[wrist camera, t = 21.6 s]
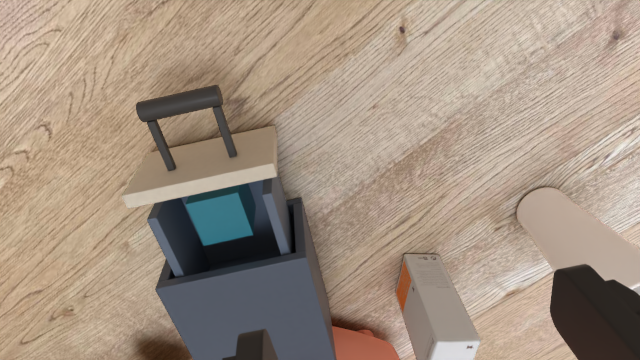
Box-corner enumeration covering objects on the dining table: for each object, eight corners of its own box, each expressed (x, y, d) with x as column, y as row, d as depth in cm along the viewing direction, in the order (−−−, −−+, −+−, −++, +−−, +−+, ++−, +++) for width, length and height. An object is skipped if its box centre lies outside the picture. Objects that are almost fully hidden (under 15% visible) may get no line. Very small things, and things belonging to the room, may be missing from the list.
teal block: (194, 177, 38) (184, 204, 34) (242, 166, 38) (237, 192, 34) (211, 215, 40) (203, 246, 36) (256, 205, 40) (253, 235, 36)
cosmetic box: (402, 252, 47) (437, 340, 37) (439, 253, 48) (483, 340, 37) (393, 292, 50) (423, 384, 40) (427, 292, 50) (466, 383, 40)
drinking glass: (575, 175, 44) (701, 273, 31) (562, 227, 47) (670, 336, 34) (512, 182, 44) (611, 284, 31) (503, 234, 47) (589, 346, 34)
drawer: (120, 91, 35) (84, 125, 28) (257, 61, 34) (252, 88, 28) (199, 265, 44) (185, 320, 38) (306, 243, 44) (311, 294, 38)
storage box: (178, 223, 43) (154, 289, 35) (301, 197, 42) (306, 257, 34) (223, 322, 50) (212, 395, 42) (328, 300, 50) (338, 369, 42)
